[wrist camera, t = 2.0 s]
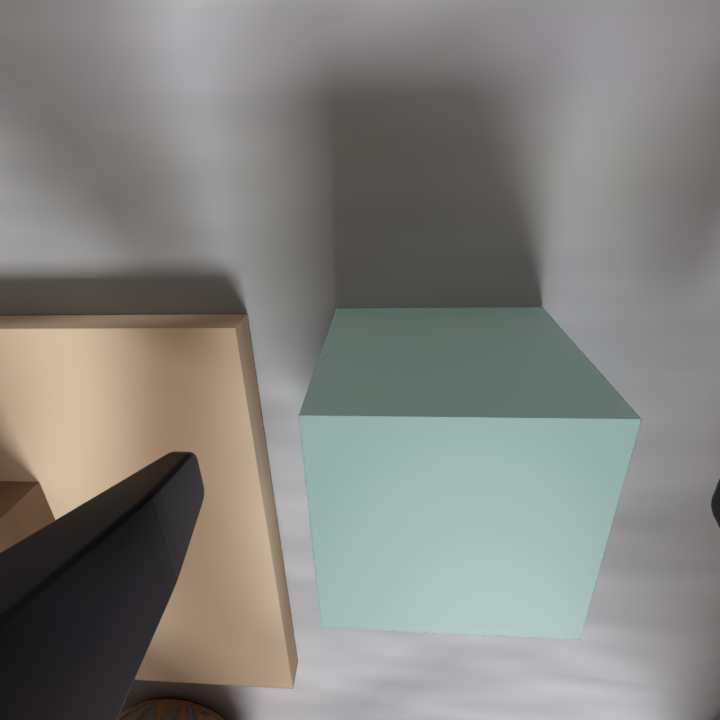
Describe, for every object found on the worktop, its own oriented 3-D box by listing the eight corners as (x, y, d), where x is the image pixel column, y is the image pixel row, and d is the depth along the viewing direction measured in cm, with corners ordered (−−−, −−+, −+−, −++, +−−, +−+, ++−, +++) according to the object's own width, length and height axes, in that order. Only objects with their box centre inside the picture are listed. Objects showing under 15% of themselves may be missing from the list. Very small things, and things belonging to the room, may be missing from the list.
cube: (541, 306, 9) (642, 419, 6) (516, 469, 11) (580, 639, 7) (336, 307, 10) (299, 415, 6) (345, 466, 11) (321, 627, 8)
